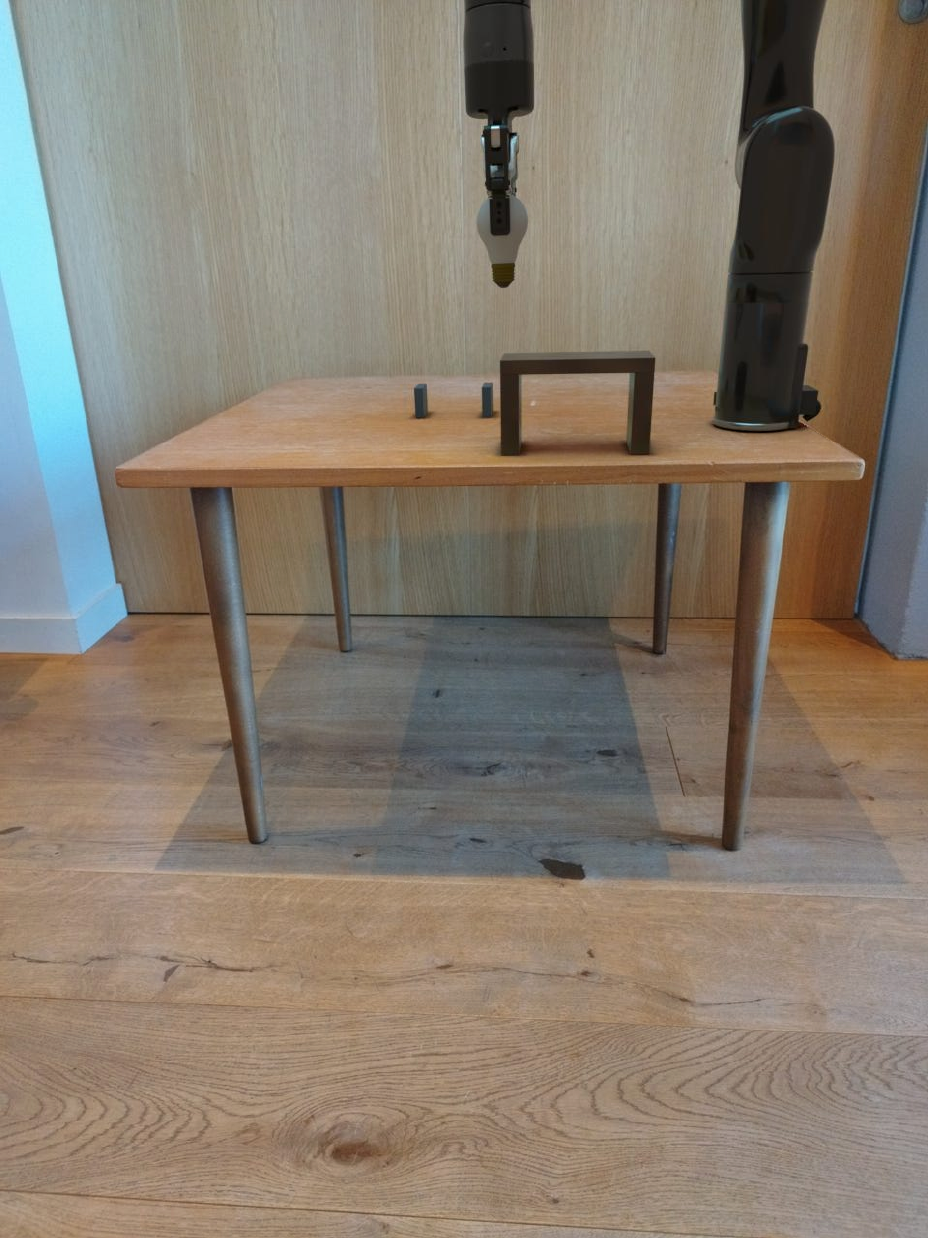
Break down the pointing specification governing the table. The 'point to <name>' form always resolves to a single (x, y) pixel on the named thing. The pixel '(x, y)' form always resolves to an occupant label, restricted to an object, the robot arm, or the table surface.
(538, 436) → the table surface
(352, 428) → the table surface
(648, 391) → the dark brown rectangular arch
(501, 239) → the light bulb
